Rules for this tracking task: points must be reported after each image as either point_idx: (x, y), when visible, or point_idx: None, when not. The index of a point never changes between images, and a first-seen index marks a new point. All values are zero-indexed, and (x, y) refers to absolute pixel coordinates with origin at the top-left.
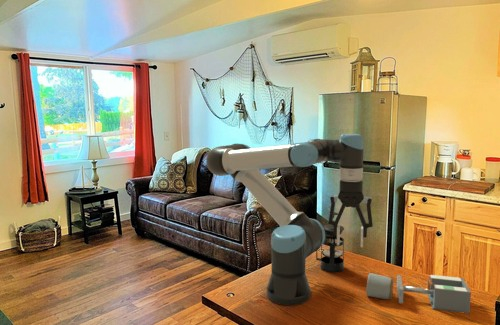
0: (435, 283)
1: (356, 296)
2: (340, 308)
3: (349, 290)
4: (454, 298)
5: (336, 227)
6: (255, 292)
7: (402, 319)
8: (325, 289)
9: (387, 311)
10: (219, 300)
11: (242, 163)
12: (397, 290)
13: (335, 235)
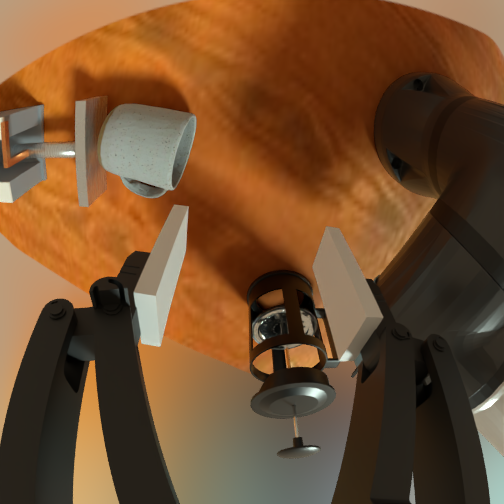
0: (11, 176)
1: (229, 125)
2: (291, 48)
3: (247, 162)
4: None
5: (378, 321)
6: None
7: (117, 24)
8: (323, 163)
9: (147, 52)
10: None
11: None
12: None
13: (288, 369)
